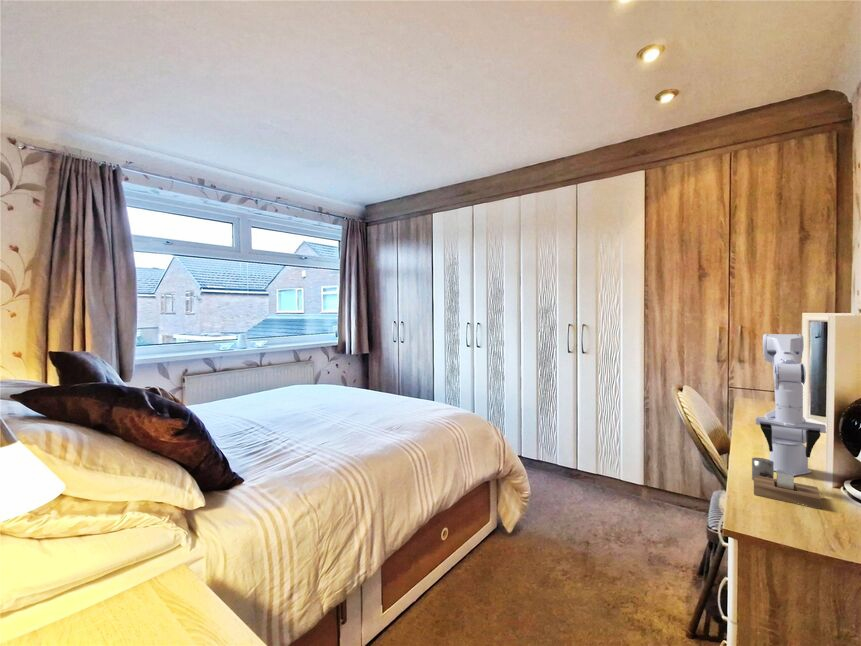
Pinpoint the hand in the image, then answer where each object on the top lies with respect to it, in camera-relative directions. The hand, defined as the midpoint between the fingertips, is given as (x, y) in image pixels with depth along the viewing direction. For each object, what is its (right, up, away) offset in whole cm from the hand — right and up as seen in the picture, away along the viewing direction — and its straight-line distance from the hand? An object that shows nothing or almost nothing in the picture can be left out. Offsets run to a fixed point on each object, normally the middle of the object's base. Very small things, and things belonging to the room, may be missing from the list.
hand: (788, 453), depth 110 cm
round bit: (-4, -10, +4) cm, 11 cm away
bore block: (-6, -10, -5) cm, 12 cm away
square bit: (-6, -9, -5) cm, 12 cm away
